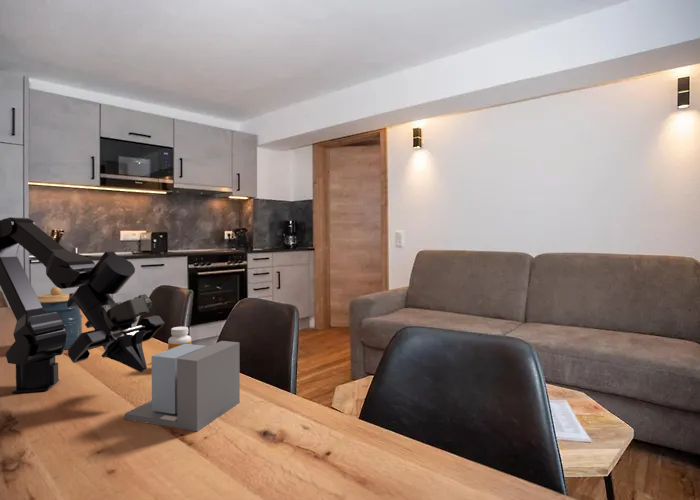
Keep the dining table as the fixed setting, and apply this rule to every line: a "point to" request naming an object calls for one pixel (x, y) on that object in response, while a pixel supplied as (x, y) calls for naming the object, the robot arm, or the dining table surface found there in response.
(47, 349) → the robot arm
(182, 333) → the supplement bottle
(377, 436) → the dining table surface
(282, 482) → the dining table surface
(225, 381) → the plate
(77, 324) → the canister
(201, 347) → the blue-gray rectangular block
